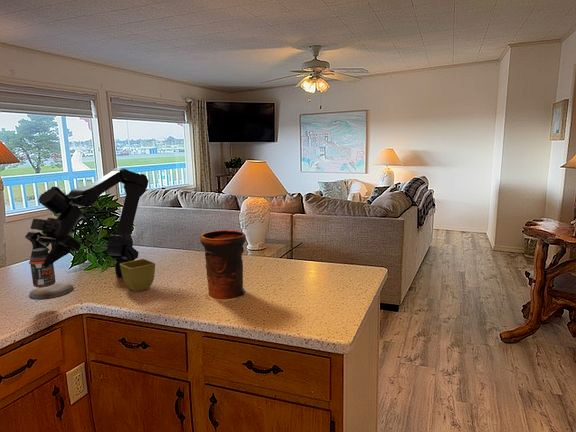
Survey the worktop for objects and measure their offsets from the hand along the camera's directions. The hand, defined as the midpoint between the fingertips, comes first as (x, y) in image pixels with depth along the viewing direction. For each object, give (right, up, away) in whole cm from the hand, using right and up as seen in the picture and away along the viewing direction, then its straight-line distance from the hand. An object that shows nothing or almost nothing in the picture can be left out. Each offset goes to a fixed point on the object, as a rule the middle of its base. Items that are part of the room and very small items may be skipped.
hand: (37, 265), depth 122 cm
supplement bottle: (+1, -6, +2) cm, 7 cm away
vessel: (+55, -11, +11) cm, 57 cm away
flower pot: (+25, -10, +17) cm, 31 cm away
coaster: (-5, -11, +15) cm, 19 cm away
